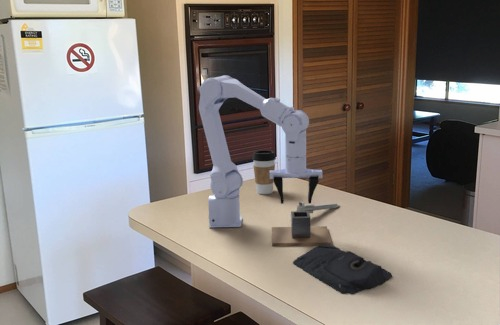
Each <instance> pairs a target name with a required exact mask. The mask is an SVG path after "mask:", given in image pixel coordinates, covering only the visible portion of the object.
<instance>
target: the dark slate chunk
mask: <svg viewBox="0 0 500 325" xmlns="http://www.w3.org/2000/svg"><path fill="white" fill-rule="evenodd" d="M292 264H293V265H294V266H295V267H296V268H298V269H301V270H302V271H303V272H304V273H307V274H308V275H310V276H311V277H313V278H314V279H316V280H318V281H319V282H321V283H323V284H325V285H326V286H328V287H330V288H331V289H333V290H335V291H336V292H338V293H340V294H342V295H343V294H349V295H352V296H353V295H356V294H357V293H361V292H363V291H367V290H372V289H375V288H376V287H380V286H381V285H383V284H384V283H386V281H389V280H388V279H391V278H393V275H392V273H391V271H390V272H389V271H388V270H386V269H385V268H383V267H382V266H381V265H378V264H375V263H373V262H372V261H371V260H368V261H367V260H365V258H364V257H362V256H360V255H357V254H356V253H354V252H352V251H350V250H348V251H347V250H346V251H344V250H342V249H340V248H339V247H337V246H334V245H332V244H331V245H330V244H327V245H319V246H314V247H313V248H312V249H310V250H308V251H306V252H305V253H304V254H302V255H300V256H298V257H297V258H296V259H295V260H294V261H293V262H292Z"/></svg>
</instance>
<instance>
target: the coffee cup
mask: <svg viewBox="0 0 500 325" xmlns="http://www.w3.org/2000/svg"><path fill="white" fill-rule="evenodd" d="M276 159H277V156H276V154H275V151H273V150H269V149H268V150H267V149H264V150H262V149H261V150H256V151H253V155H252V161H253V173H254V181H255V192H256V193H257V194H259V195H269V194H272V193H274V192H273V191H274V179H270V170H276V164H275V162H276V161H275V160H276Z"/></svg>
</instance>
